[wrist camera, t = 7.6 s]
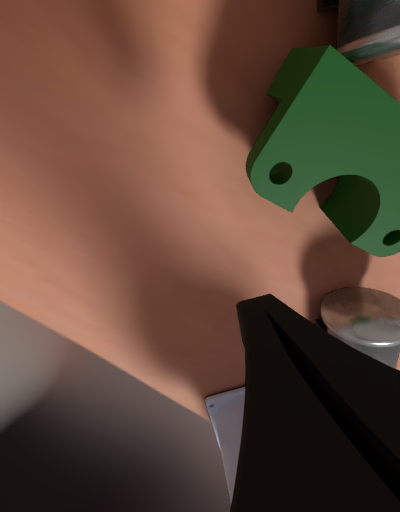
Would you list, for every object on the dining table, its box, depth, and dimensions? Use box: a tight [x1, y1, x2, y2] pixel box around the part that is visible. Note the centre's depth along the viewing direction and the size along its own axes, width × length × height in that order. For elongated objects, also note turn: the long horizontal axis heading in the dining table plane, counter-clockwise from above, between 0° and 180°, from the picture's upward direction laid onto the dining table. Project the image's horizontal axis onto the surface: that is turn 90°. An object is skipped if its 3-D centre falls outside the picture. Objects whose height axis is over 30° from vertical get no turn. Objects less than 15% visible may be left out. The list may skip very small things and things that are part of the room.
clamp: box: [246, 45, 400, 257], centre depth 14 cm, size 12×6×9 cm, turn 57°
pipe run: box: [315, 0, 400, 369], centre depth 15 cm, size 36×6×6 cm, turn 12°
